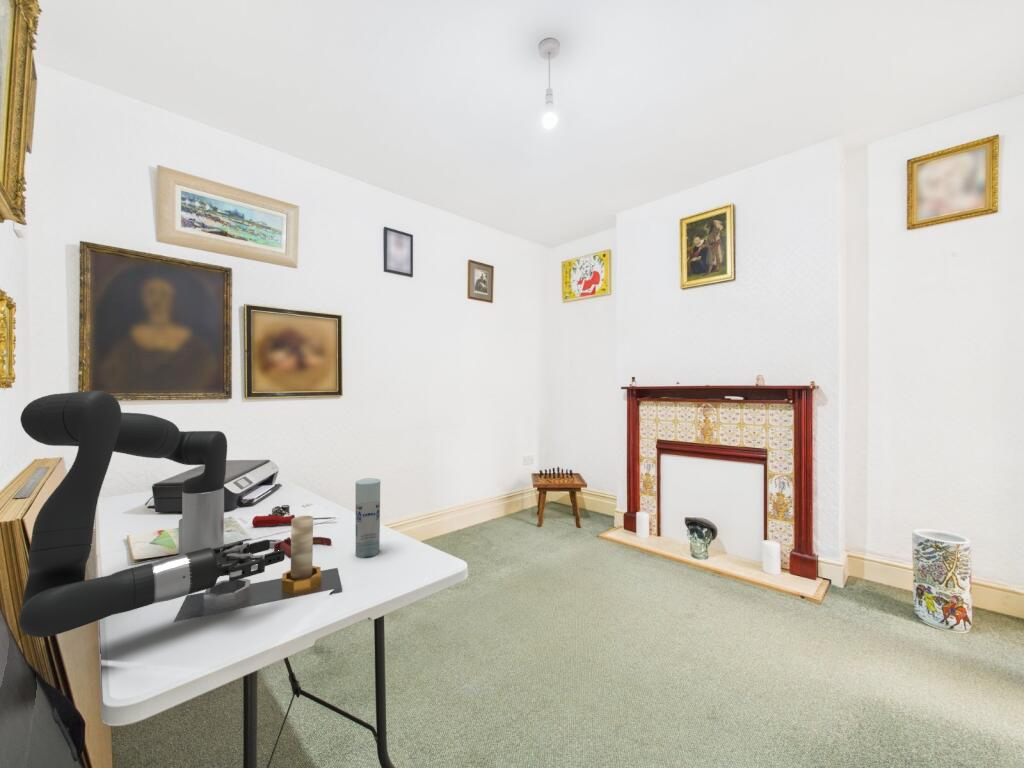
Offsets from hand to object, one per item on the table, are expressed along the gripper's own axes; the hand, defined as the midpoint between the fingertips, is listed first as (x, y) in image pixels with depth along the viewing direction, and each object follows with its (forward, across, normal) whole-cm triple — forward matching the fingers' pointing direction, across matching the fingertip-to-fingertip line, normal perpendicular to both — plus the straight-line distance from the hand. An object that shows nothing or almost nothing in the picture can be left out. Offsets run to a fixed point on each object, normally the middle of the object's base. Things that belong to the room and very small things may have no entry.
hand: (276, 549), depth 90 cm
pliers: (+15, +26, +11) cm, 32 cm away
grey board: (-1, +2, +11) cm, 11 cm away
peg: (+5, 0, +10) cm, 11 cm away
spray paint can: (+26, +7, +11) cm, 29 cm away
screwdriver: (+22, +45, +11) cm, 52 cm away
